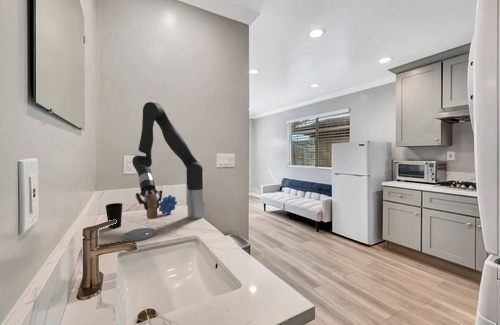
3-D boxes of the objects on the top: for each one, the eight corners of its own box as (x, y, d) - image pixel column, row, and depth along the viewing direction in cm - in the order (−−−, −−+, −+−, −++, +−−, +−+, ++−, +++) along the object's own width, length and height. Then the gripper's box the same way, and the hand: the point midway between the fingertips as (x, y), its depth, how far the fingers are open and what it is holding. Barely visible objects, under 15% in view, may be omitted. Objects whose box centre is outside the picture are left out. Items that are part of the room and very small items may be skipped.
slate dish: (151, 228, 116) (151, 226, 116) (157, 236, 106) (157, 233, 106) (123, 234, 109) (123, 231, 109) (126, 243, 98) (126, 240, 98)
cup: (115, 230, 115) (114, 206, 114) (102, 229, 116) (101, 206, 116) (126, 225, 122) (125, 203, 122) (114, 224, 124) (113, 202, 123)
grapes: (174, 210, 151) (174, 193, 151) (178, 212, 146) (178, 194, 145) (156, 214, 144) (156, 195, 143) (160, 216, 138) (160, 197, 138)
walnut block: (155, 215, 123) (154, 193, 122) (157, 217, 119) (156, 195, 118) (146, 217, 120) (145, 194, 119) (148, 219, 116) (147, 196, 116)
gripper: (133, 180, 120) (137, 206, 111) (161, 177, 129) (167, 202, 119) (132, 188, 125) (136, 214, 116) (159, 185, 133) (165, 210, 124)
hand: (152, 208), depth 118 cm, fingers closed on walnut block, 4 cm apart
